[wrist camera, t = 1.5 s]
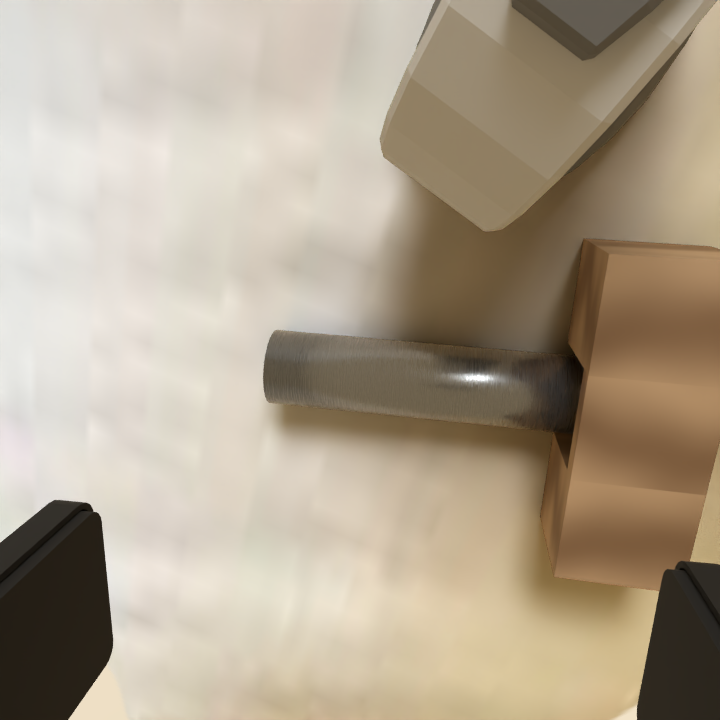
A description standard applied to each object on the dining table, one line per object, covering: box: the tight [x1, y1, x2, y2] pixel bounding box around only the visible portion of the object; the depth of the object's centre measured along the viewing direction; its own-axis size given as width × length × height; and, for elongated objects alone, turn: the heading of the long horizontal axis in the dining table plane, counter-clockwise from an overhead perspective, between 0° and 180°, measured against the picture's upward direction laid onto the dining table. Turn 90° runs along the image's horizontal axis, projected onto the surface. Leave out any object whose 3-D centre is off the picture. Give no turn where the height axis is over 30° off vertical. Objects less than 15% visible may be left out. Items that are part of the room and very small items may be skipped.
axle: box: [263, 330, 584, 434], centre depth 32 cm, size 20×4×4 cm, turn 87°
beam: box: [540, 239, 720, 591], centre depth 30 cm, size 16×6×6 cm, turn 177°
